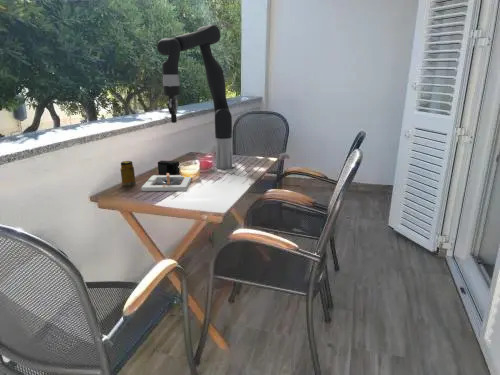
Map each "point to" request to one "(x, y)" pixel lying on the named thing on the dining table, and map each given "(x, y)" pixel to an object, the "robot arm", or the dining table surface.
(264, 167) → the dining table surface
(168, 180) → the dial
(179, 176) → the panel
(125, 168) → the condiment
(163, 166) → the digital camera
